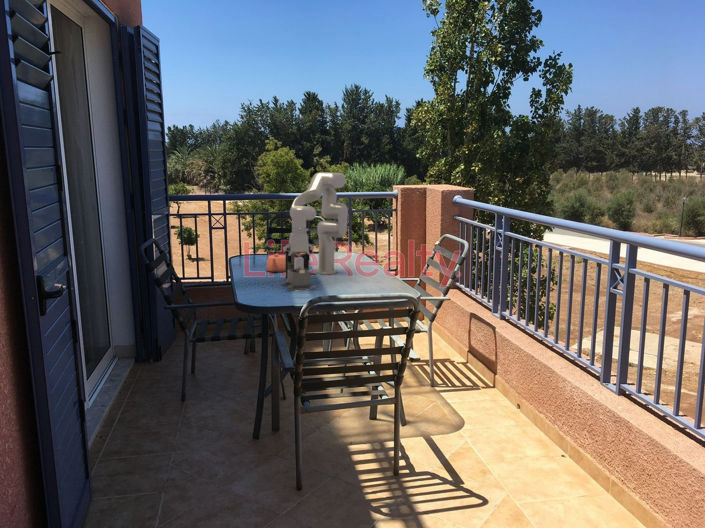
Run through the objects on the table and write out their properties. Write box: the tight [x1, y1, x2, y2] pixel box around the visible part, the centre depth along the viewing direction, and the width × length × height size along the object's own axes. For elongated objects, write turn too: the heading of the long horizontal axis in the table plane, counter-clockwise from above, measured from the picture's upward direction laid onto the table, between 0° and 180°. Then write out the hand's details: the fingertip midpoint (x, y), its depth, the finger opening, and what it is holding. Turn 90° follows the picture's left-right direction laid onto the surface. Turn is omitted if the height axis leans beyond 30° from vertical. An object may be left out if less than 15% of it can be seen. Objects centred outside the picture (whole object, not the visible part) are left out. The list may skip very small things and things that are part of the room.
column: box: [294, 257, 304, 272], centre depth 304 cm, size 5×4×16 cm
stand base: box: [280, 268, 318, 292], centre depth 305 cm, size 16×16×10 cm
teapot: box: [265, 253, 286, 273], centre depth 341 cm, size 12×18×10 cm, turn 175°
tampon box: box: [285, 252, 310, 279], centre depth 324 cm, size 11×9×15 cm
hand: (298, 262), depth 303 cm, fingers open, 9 cm apart
